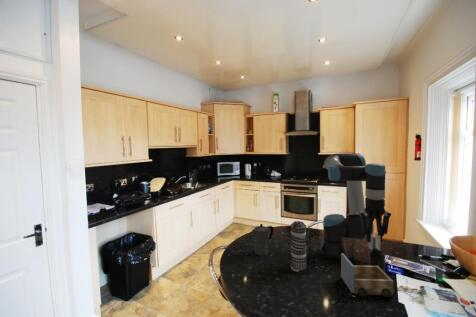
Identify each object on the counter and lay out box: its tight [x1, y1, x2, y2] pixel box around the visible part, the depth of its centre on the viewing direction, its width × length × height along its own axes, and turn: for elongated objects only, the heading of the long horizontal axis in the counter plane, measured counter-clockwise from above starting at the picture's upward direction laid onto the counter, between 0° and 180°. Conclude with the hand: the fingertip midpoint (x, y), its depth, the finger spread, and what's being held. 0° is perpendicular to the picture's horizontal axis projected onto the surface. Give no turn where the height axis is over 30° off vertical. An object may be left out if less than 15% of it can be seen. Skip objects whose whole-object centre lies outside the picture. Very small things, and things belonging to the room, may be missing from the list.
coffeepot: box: [251, 223, 275, 256], centre depth 138 cm, size 15×9×18 cm, turn 113°
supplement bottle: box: [369, 245, 386, 273], centre depth 115 cm, size 7×7×12 cm
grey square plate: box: [340, 253, 354, 294], centre depth 103 cm, size 1×12×12 cm, turn 176°
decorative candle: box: [289, 220, 308, 273], centre depth 119 cm, size 9×9×25 cm
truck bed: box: [353, 264, 394, 298], centre depth 102 cm, size 16×15×7 cm
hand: (374, 248), depth 101 cm, fingers open, 3 cm apart
